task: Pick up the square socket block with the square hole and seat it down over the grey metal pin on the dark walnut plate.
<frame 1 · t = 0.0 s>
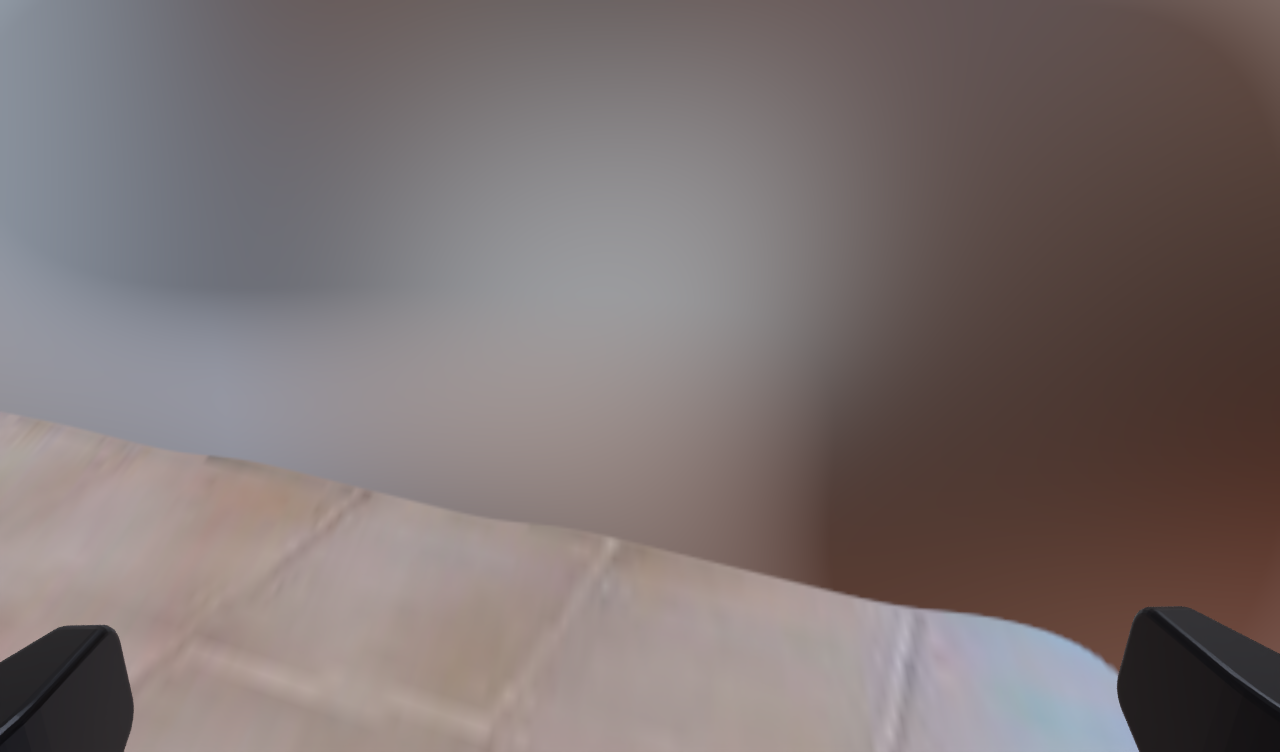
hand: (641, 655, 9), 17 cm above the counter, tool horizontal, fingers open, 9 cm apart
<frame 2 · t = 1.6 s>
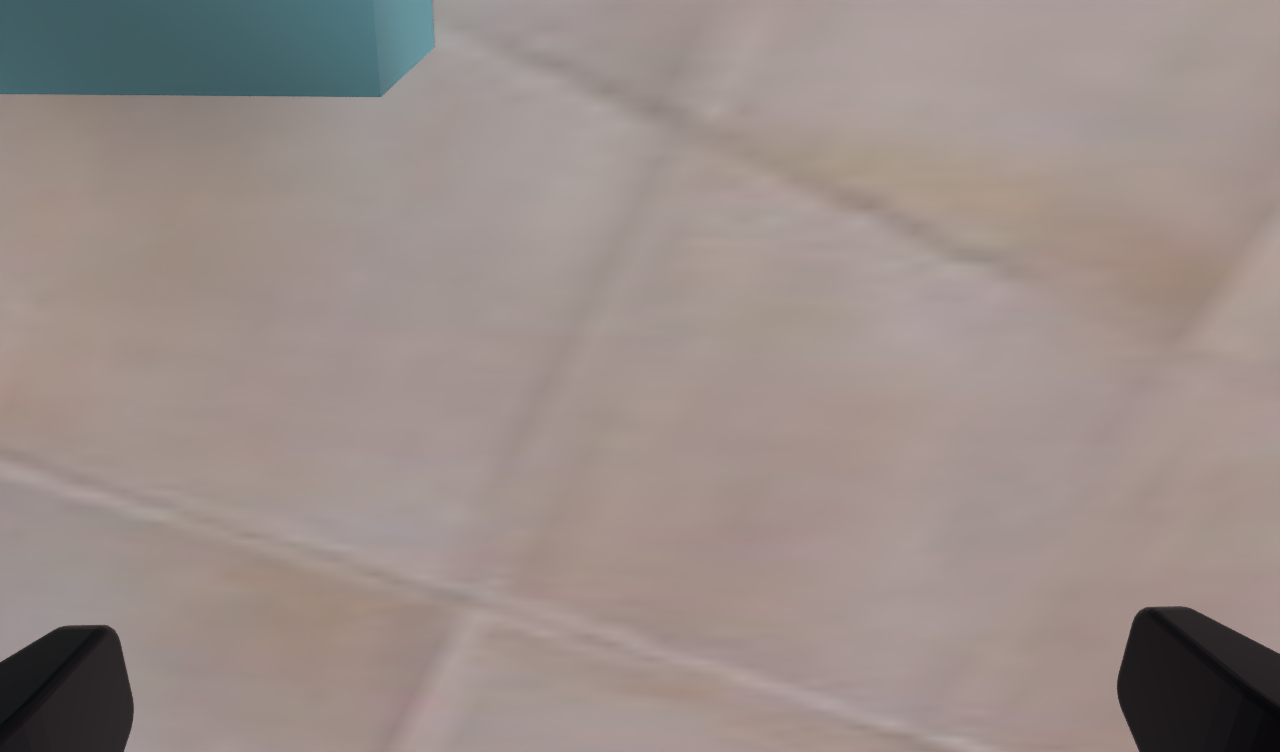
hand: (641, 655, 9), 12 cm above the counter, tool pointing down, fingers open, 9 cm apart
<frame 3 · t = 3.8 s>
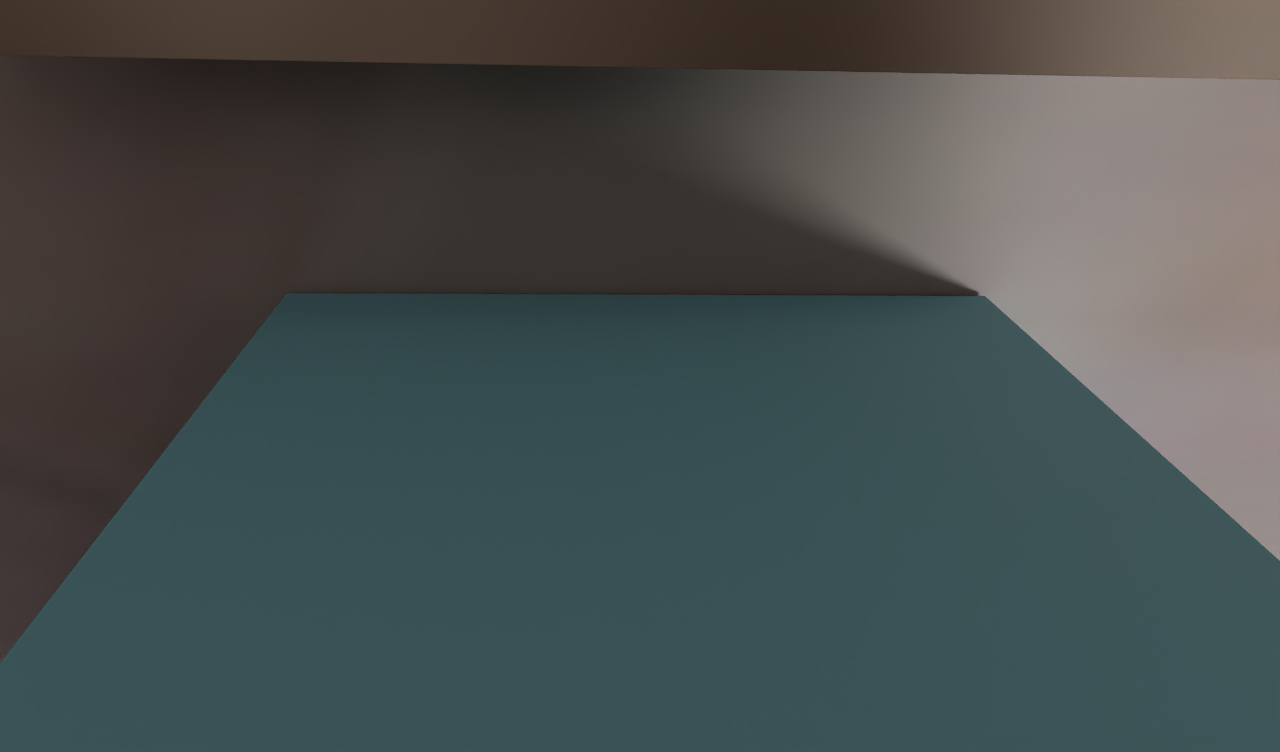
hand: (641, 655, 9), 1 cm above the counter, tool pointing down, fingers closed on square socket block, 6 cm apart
square socket block: (635, 585, 10), on the counter, touching gripper
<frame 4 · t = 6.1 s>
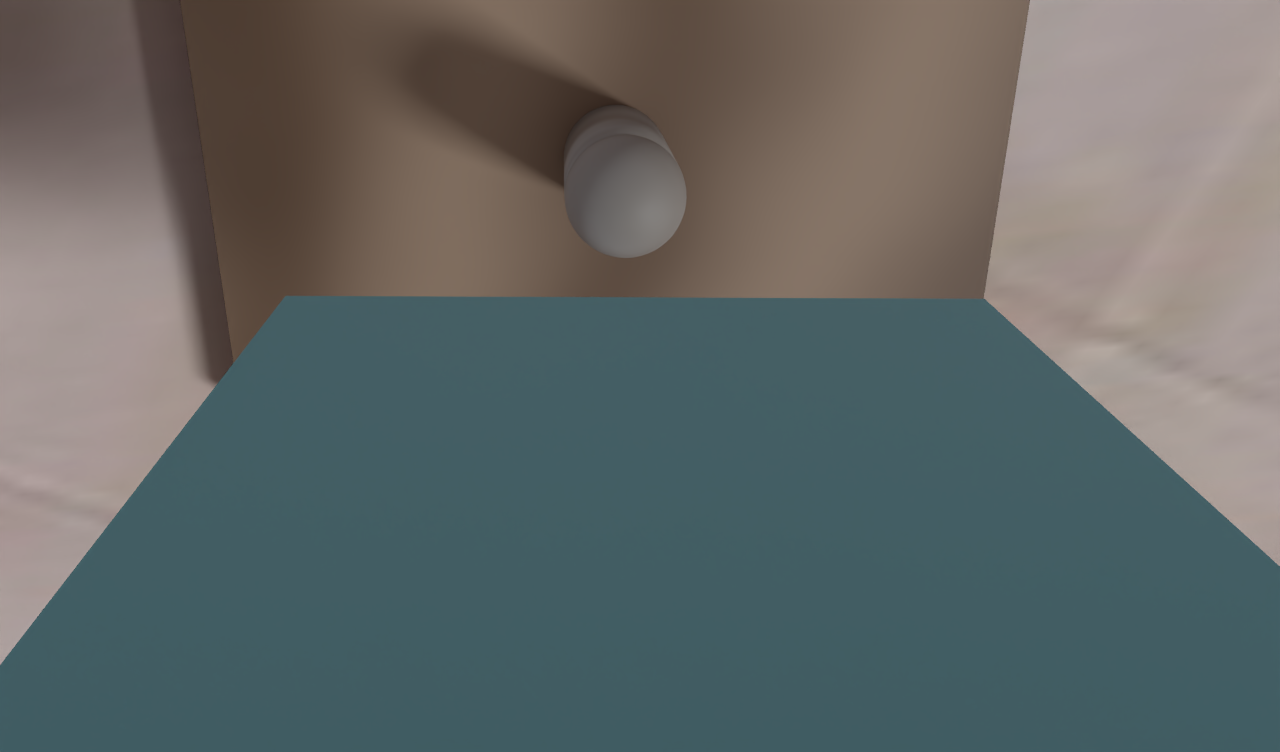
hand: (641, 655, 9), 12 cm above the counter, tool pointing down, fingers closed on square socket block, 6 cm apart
pin plate: (612, 147, 19), on the counter
square socket block: (634, 588, 10), point 11 cm above the counter, touching gripper
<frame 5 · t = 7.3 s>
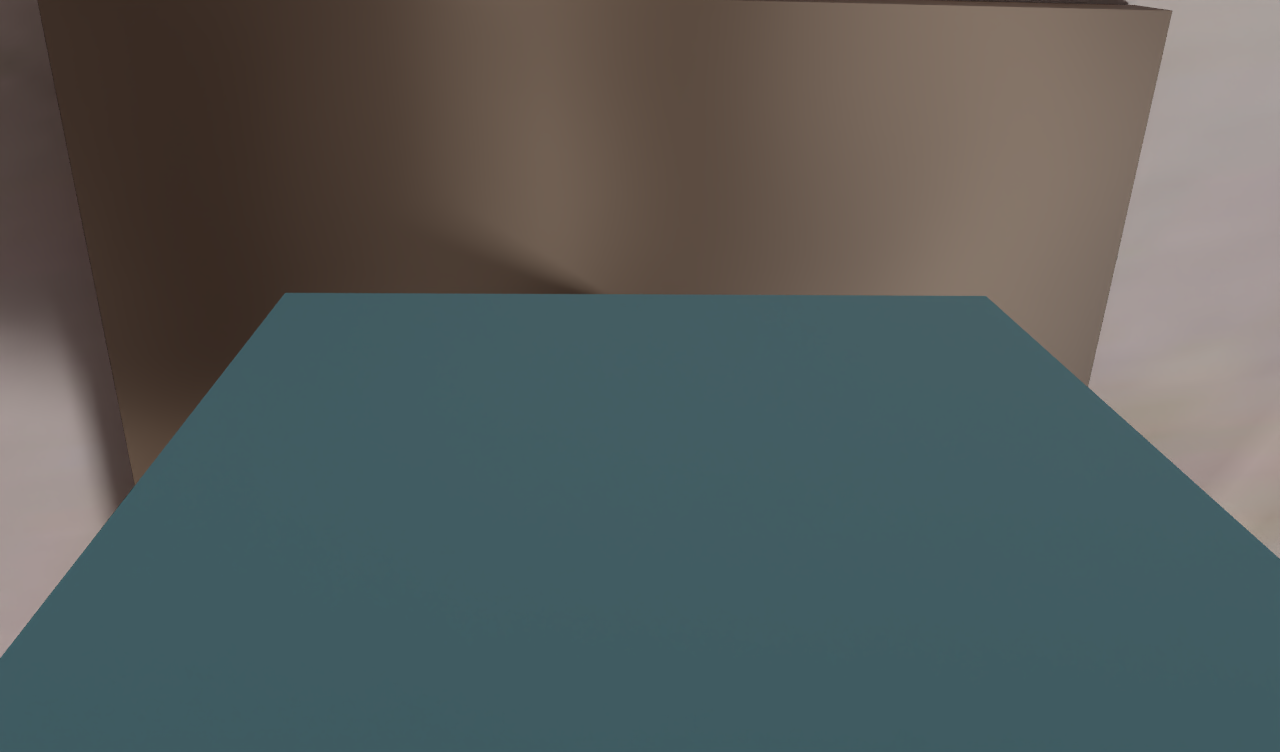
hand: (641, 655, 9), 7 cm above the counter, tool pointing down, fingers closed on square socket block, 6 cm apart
pin plate: (614, 343, 15), on the counter
square socket block: (635, 586, 10), point 6 cm above the counter, touching gripper
when the fingers open (4 cm above the counter, at t = 8.5 s): square socket block drops 2 cm, resting on pin plate.
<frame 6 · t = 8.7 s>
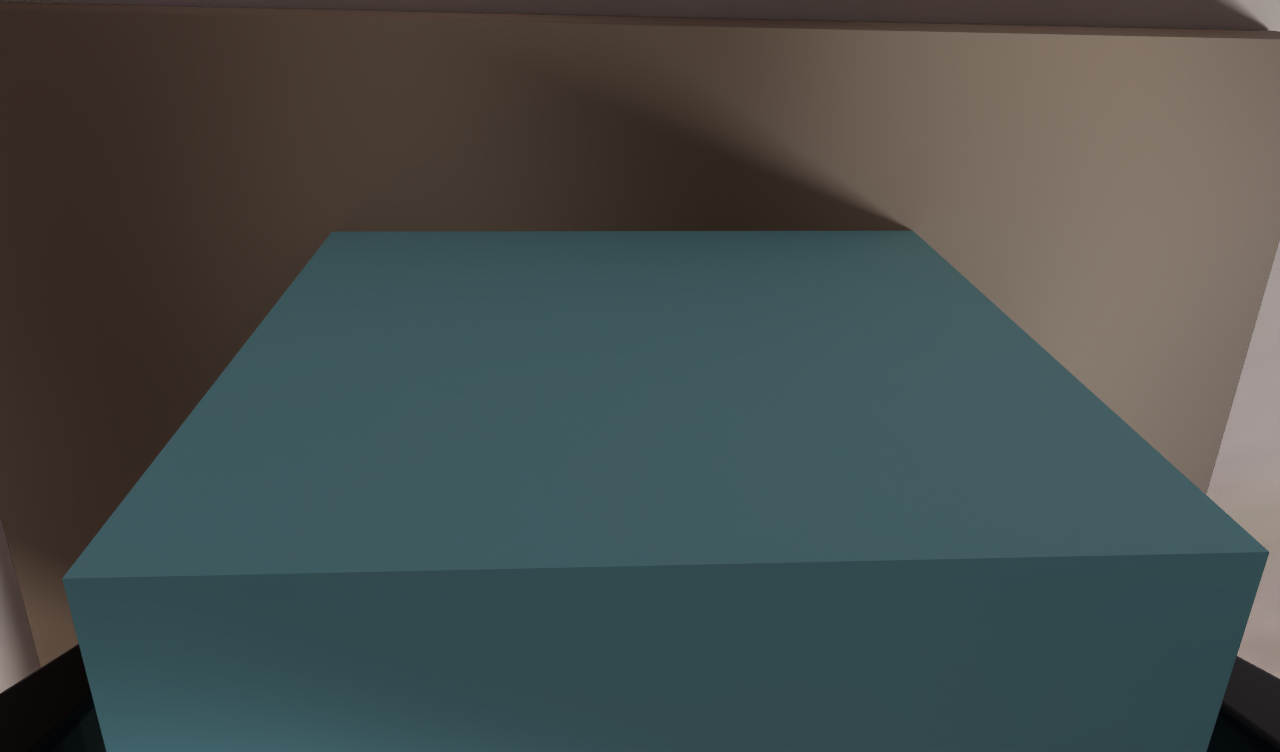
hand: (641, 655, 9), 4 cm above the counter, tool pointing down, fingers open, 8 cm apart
pin plate: (622, 442, 13), on the counter
square socket block: (624, 484, 12), point 1 cm above the counter, touching pin plate
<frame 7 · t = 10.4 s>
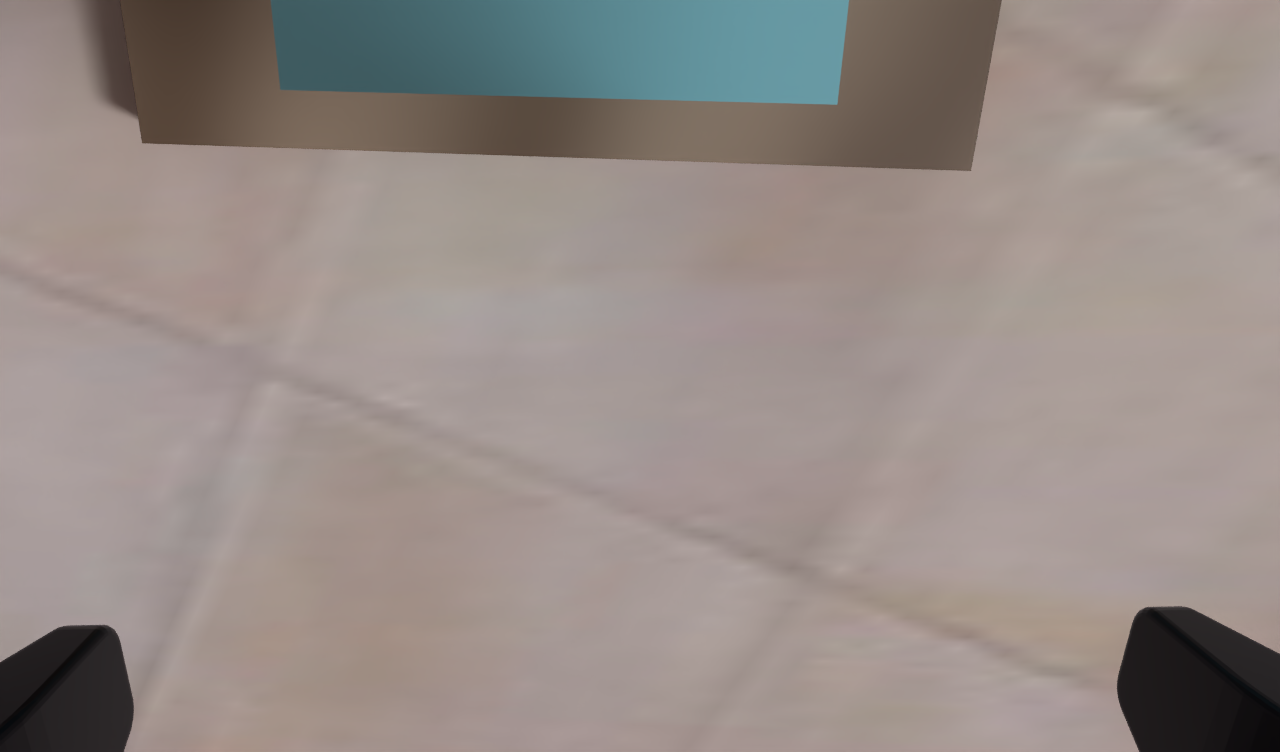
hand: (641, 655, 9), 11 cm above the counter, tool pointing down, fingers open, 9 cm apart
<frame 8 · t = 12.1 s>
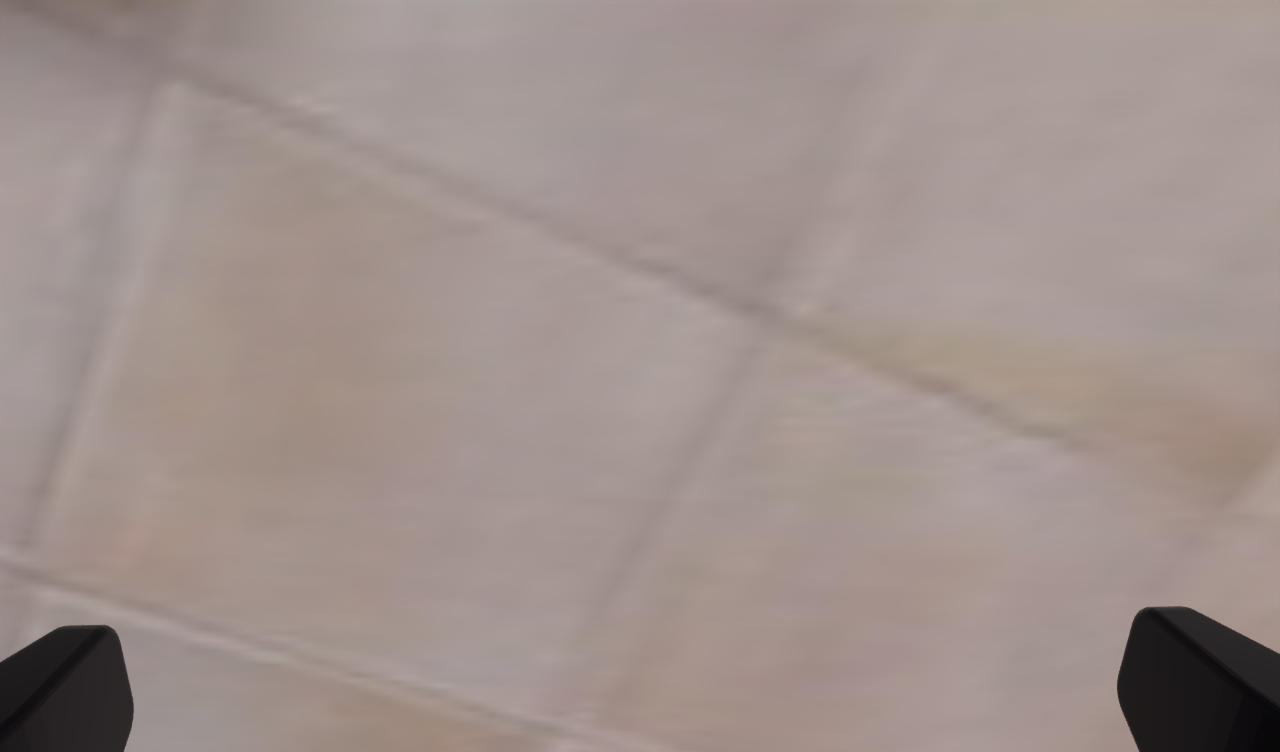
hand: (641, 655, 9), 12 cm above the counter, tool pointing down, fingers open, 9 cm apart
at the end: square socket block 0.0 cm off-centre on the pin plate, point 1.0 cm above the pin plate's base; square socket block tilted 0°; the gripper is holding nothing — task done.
